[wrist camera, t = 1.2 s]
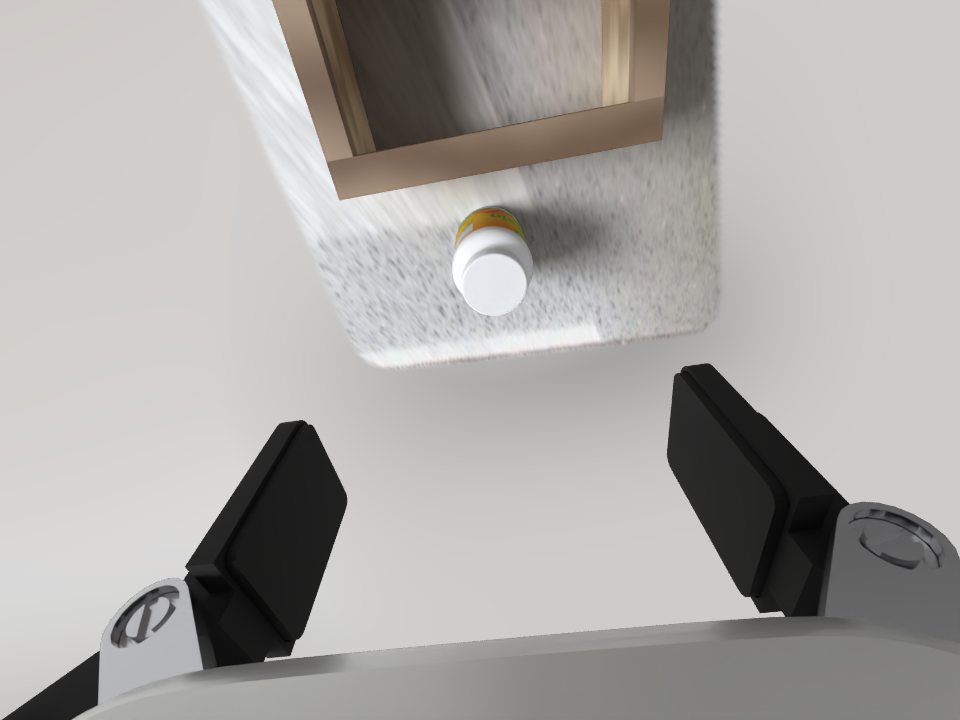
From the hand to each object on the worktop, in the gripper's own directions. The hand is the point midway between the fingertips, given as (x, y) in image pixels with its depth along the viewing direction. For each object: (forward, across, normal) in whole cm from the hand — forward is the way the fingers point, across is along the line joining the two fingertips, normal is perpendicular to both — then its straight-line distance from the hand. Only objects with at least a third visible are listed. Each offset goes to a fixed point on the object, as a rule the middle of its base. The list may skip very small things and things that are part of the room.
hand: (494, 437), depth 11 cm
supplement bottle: (+25, 0, +1) cm, 25 cm away
